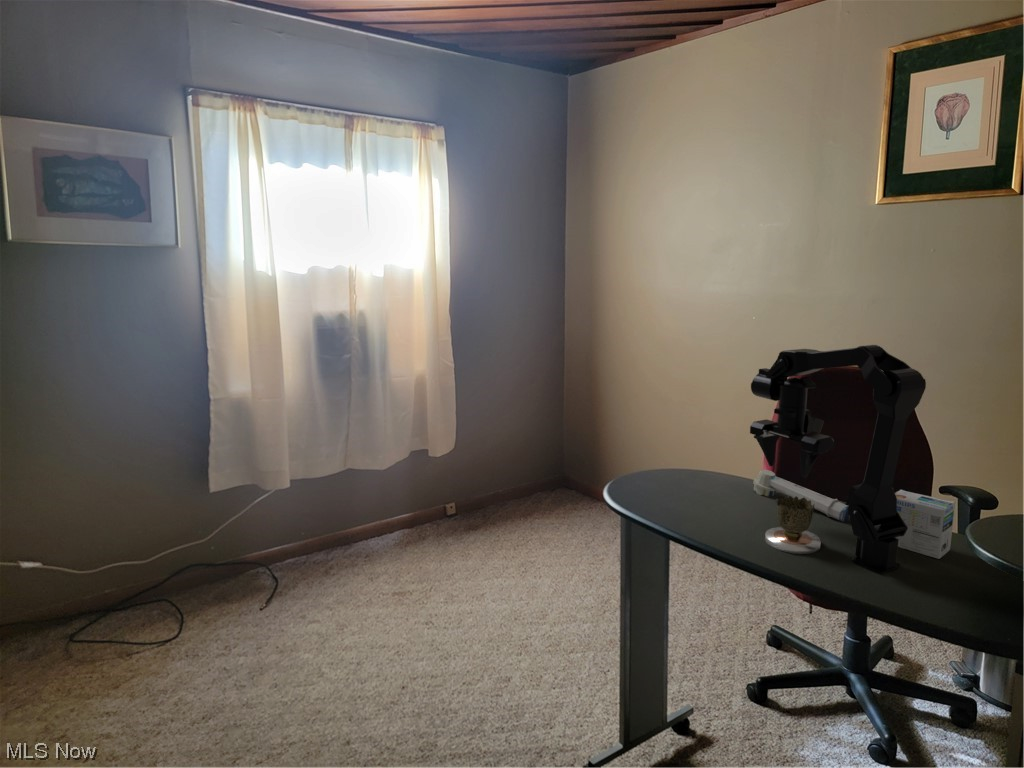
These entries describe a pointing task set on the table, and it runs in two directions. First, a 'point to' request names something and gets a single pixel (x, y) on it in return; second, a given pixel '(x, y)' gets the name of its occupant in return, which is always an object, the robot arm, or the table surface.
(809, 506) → the cup
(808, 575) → the table surface
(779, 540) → the rosette plate
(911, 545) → the light bulb box
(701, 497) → the table surface
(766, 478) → the white long bar
